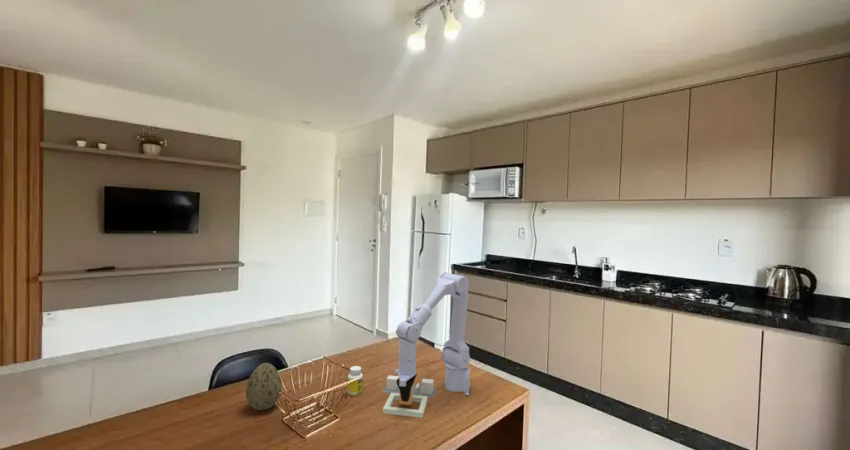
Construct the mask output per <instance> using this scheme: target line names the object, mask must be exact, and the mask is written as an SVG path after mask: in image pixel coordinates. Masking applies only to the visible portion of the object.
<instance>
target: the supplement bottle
mask: <svg viewBox="0 0 850 450" xmlns="http://www.w3.org/2000/svg"><path fill="white" fill-rule="evenodd" d="M363 375H364V374H363V373H362V367H361V366H359V365H353V366H351V367H350V368H349V374H348V375H347V382H348V381H350V380H353V379H355V378H358V377H359V378H360V379H358V380H355V381H353V382H351V383H349V384H346V385H347V387H346V388H347V389H346V395H347V397H358V396H360V395H362V394H363V383H364V382H363V381H364V376H363Z"/></svg>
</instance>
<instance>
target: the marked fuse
mask: <svg viewBox="0 0 850 450" xmlns="http://www.w3.org/2000/svg"><path fill="white" fill-rule="evenodd" d="M413 385H414V384H413ZM413 385H412V387H411V391H410V396H409V400H408V402H406V401H402V399H401V394H400V392H399V400H398V404H399V405H406V406H412V403H413V402H412V401H413Z"/></svg>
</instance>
